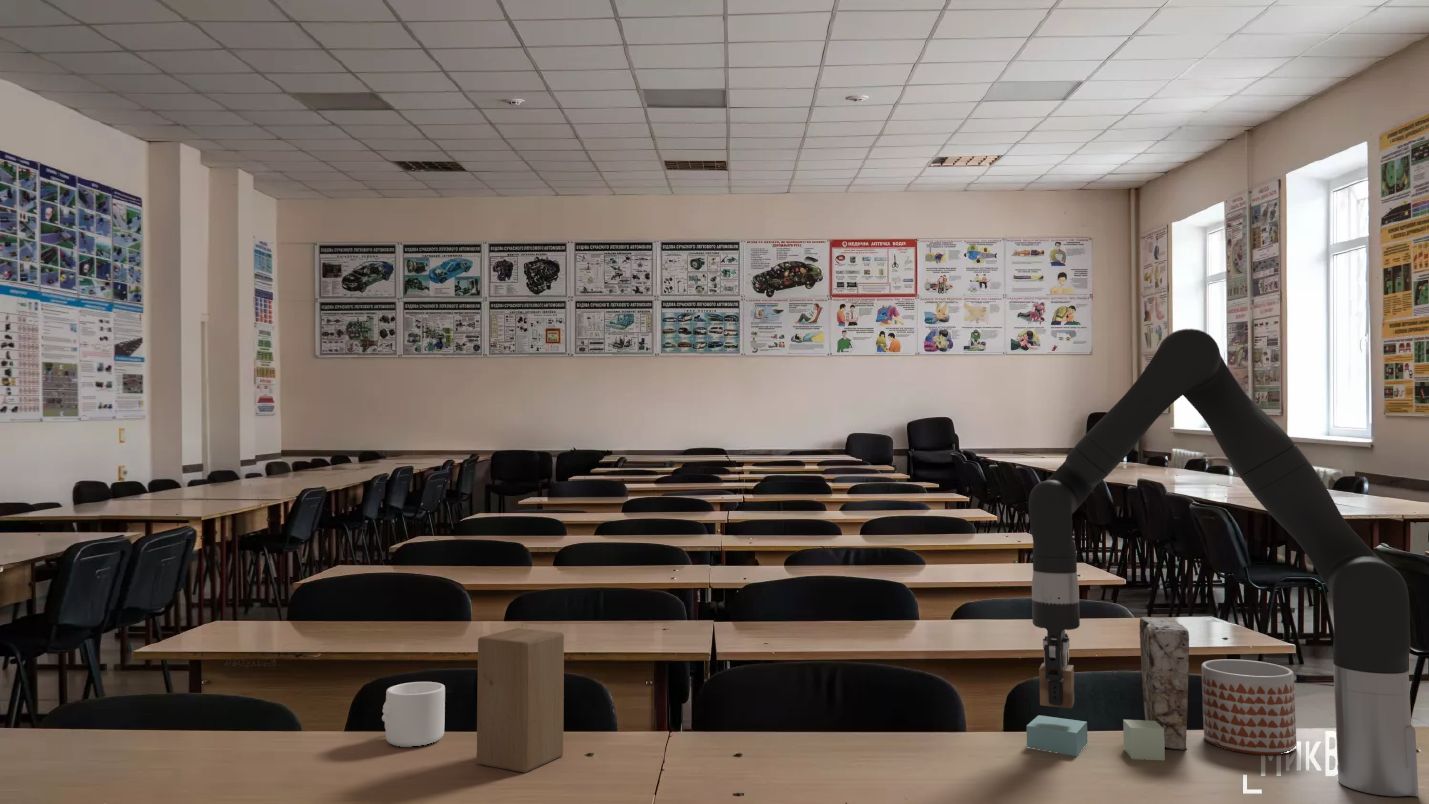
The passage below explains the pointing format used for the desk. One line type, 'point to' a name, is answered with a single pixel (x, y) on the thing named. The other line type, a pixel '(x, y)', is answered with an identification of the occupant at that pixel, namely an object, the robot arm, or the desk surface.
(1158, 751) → the sage block
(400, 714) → the mug
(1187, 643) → the stone block
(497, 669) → the wooden block
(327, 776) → the desk surface
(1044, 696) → the walnut block
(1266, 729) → the planter
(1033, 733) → the teal pedestal
